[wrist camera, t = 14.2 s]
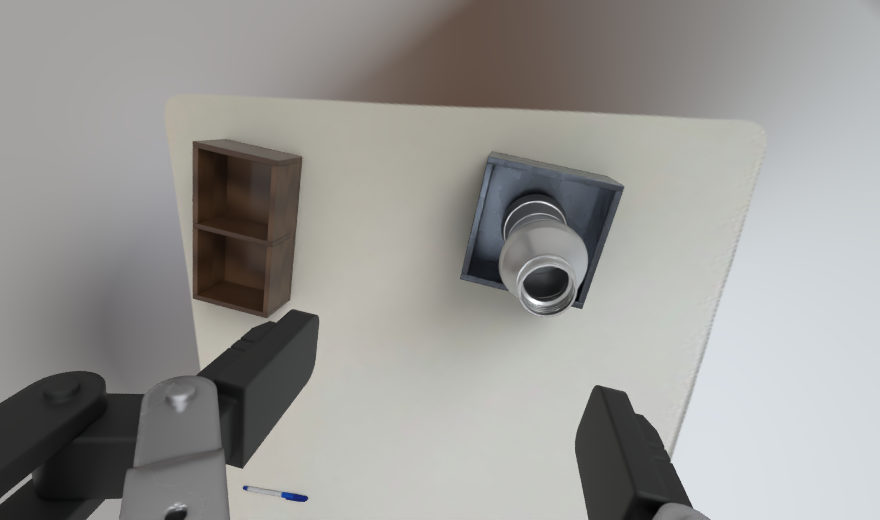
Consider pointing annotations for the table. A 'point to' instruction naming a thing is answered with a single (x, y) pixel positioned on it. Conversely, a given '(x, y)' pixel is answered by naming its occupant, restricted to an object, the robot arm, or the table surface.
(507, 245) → the silver metal bottle
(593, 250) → the dark grey open box
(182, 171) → the table surface
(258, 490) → the ballpoint pen
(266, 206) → the divided box
